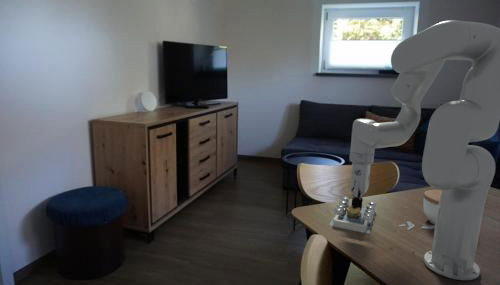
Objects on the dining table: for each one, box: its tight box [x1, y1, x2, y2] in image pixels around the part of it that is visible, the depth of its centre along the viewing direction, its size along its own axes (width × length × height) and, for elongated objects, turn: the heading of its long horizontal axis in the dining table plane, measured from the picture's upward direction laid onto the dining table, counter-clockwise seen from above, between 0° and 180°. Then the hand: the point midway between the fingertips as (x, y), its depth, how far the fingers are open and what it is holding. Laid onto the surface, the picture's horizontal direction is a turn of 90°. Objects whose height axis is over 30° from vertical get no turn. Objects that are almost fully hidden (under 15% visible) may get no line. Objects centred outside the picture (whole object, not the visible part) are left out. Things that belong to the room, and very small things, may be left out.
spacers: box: [333, 196, 377, 226], centre depth 120 cm, size 14×12×3 cm
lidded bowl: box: [422, 189, 442, 225], centre depth 118 cm, size 13×13×11 cm
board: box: [328, 206, 377, 235], centre depth 118 cm, size 20×12×3 cm, turn 155°
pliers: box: [398, 220, 435, 231], centre depth 116 cm, size 10×2×15 cm
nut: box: [347, 204, 360, 219], centre depth 119 cm, size 4×4×3 cm
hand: (356, 209), depth 122 cm, fingers closed
